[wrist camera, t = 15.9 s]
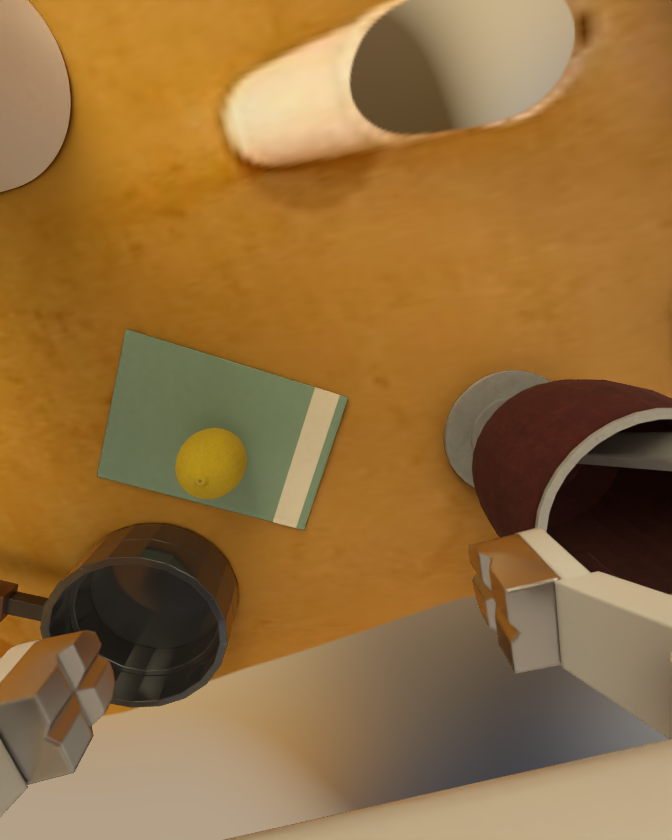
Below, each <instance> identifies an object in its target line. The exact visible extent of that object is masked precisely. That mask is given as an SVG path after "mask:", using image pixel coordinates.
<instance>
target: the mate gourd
mask: <svg viewBox="0 0 672 840" xmlns="http://www.w3.org/2000/svg"><path fill="white" fill-rule="evenodd" d="M444 445H445V452H446V455H447V457H448V460H449V463H450V464H451V466H452V467H453V469H454V471H455V472H456V473H457V474H458V475H459V476H460V477H461V478H462V479H463V480H464V481H465V482H466V483H468V484H469V485H471V486H472V487H474V488H475V489H476V492H477V495H478V498H479V501H480V504H481V506H482V508H483V510H484V512H485V514H486V516H487V518H488V520H489V521H490V523H491V525H492V526H493V528H494V530H495V531H496V533H497V534H498V536H499V537H500V538H501V537H505V536H509V535H513V534H515V533H519V532H522V531H526V530H530V529H534V528H540V529H543V530H544V531H545V532H546V533H547V534H548V535H550V536H551V537H552V538H553V539H554V540H555V541H556V542H557V543H558V544H560V545H561V546H562V547H563V548H564V549H565V550H566V551H567V552H568V553H569V554H571V555H572V556H573V557H574V558H575V559H576V560H577V561H578V562H579V563H581V564H582V565H583V566H584V567H585V568H586V569H587V570H588V571H589V572H590V573H592V572H597V571H599V572H602V573H605V574H608V575H611V576H614V577H617V578H620V579H623V580H626V581H629V582H633V583H636V584H639V585H642V586H645V587H648V588H651V589H654V590H657V591H660V592H663V593H666V594H669V595H672V399H671V398H669V397H667V396H664V395H662V394H660V393H657V392H655V391H652V390H648V389H644V388H639V387H635V386H630V385H626V384H621V383H616V382H612V381H607V380H559V381H552V382H550V381H549V380H547V379H546V378H544V377H541V376H539V375H537V374H534V373H530V372H526V371H521V370H506V371H501V372H496V373H493V374H490V375H488V376H485V377H483V378H481V379H480V380H478V381H477V382H475V383H473V384H472V385H471V386H469V387H468V388H467V389H466V390H465V391H464V392H463V393H462V394H461V395H460V397H459V398H458V399H457V401H456V402H455V403H454V405H453V407H452V409H451V411H450V413H449V415H448V418H447V421H446V425H445V431H444Z"/></svg>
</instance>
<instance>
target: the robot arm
mask: <svg viewBox="0 0 672 840" xmlns="http://www.w3.org/2000/svg"><path fill="white" fill-rule="evenodd" d="M70 107H71V98H70V86H69V79H68V75H67V70H66V67H65V63H64V60H63V57H62V54H61V52H60V49H59V47H58V44H57V42H56V40H55V38H54V36H53V34H52V33H51V31H50V29H49V27H48V26H47V24H46V23H45V21H44V20H43V18H42V17H41V15H40V14H39V13H38V11H37V10H36V9H35V8H34V6H33V5H32V4H31V3H30V2H29V0H0V192H3V191H7V190H10V189H13V188H17V187H19V186H22V185H24V184H26V183H28V182H30V181H31V180H33V179H35V178H36V177H37V176H39V175H40V174H41V173H42V172H43V171H44V170H46V168H47V167H48V166H49V165H50V164H51V163H52V161H53V160H54V159H55V157H56V156H57V154H58V152H59V150H60V148H61V146H62V144H63V142H64V139H65V136H66V133H67V129H68V125H69V119H70ZM469 558H470V563H471V564H472V566H473V568H474V569H475V571H476V572H477V573H476V575H475V576H474V578H473V585H474V591H475V595H476V599H477V602H478V605H479V608H480V610H481V613H482V615H483V617H484V619H485V621H486V623H487V625H488V626H489V627H490V628H492V629H493V630H495V631H497V635H498V642H499V646H500V647H501V649H502V651H503V653H504V654H505V656H506V658H507V659H508V661H509V663H510V665H511V666H512V668H513V670H514V672H515V673H520V672H526V671H531V670H536V669H541V668H546V667H552V666H557V665H561V666H562V668H564V669H565V670H567V671H568V672H570V673H571V674H573V675H574V676H576V677H577V678H579V679H580V680H582V681H583V682H585V683H586V684H588V685H589V686H590V687H592V688H594V689H595V690H597V691H598V692H599V693H601V694H602V695H604V696H606V697H607V698H609V699H610V700H612V701H613V702H615V703H616V704H617V705H619V706H620V707H622V708H623V709H625V710H626V711H628V712H630V713H631V714H632V715H634V716H635V717H637V718H638V719H640V720H641V721H643V722H644V723H646V724H647V725H649V726H650V727H652V728H653V729H655V730H656V731H658V732H659V733H661V734H662V735H664V736H665V737H667V738H668V739H669V740H664V741H660V742H656V743H651V744H647V745H642V746H638V747H633V748H629V749H625V750H620V751H615V752H611V753H606V754H602V755H597V756H593V757H589V758H584V759H580V760H575V761H571V762H567V763H562V764H558V765H553V766H549V767H544V768H540V769H535V770H531V771H526V772H522V773H518V774H513V775H509V776H504V777H500V778H495V779H491V780H487V781H482V782H478V783H473V784H469V785H464V786H460V787H456V788H451V789H447V790H442V791H438V792H433V793H429V794H425V795H420V796H416V797H411V798H407V799H402V800H398V801H393V802H389V803H385V804H380V805H376V806H371V807H367V808H362V809H358V810H354V811H349V812H345V813H340V814H336V815H331V816H327V817H323V818H318V819H314V820H310V821H305V822H301V823H296V824H292V825H287V826H283V827H278V828H274V829H270V830H266V831H261V832H256V833H252V834H248V835H243V836H238V837H234V838H230V839H225V840H672V595H669V594H666V593H663V592H660V591H657V590H654V589H651V588H648V587H645V586H642V585H639V584H636V583H633V582H629V581H626V580H623V579H620V578H617V577H614V576H611V575H608V574H605V573H602V572H599V571H597V572H592V573H590V572H589V571H588V570H587V569H586V568H585V567H584V566H583V565H582V564H581V563H579V562H578V561H577V560H576V559H575V558H574V557H573V556H572V555H571V554H569V553H568V552H567V551H566V550H565V549H564V548H563V547H562V546H561V545H560V544H558V543H557V542H556V541H555V540H554V539H553V538H552V537H551V536H550V535H548V534H547V533H546V532H545V531H544V530H543V529H540V528H534V529H530V530H526V531H522V532H519V533H515V534H513V535H509V536H505V537H501V538H496V539H492V540H488V541H484V542H480V543H475V544H471V545H469ZM101 645H102V644H101V642H100V640H99V638H98V636H97V634H96V632H93V631H90V630H84V631H79V632H74V633H69V634H64V635H59V636H54V637H49V638H44V639H42V640H35V641H31V642H26V643H22V644H19V645H16V646H14V647H12V648H10V649H9V650H8V651H7V652H6V653H5V655H4V656H3V657H2V658H1V659H0V817H1V816H2V815H3V814H4V813H5V811H7V810H8V809H9V807H10V806H11V805H12V804H13V803H14V802H15V801H16V800H17V799H18V798H19V797H20V795H21V794H22V793H23V792H24V791H25V790H26V789H27V788H28V786H27V785H29V784H33V783H36V782H40V781H44V780H48V779H52V778H56V777H59V776H63V775H67V774H71V773H74V772H75V769H76V768H77V766H78V764H79V762H80V760H81V758H82V757H83V755H84V753H85V751H86V749H87V747H88V745H89V743H90V741H91V739H92V737H93V731H92V725H93V724H94V723H95V722H96V721H97V720H98V719H100V718H101V717H102V716H103V715H104V714H105V712H106V710H107V708H108V706H109V704H110V702H111V700H112V697H113V691H114V685H115V679H114V672H113V669H112V667H111V664H110V662H109V661H108V660H106V659H105V658H103V657H102V656H100V655H98V654H99V651H100V648H101Z"/></svg>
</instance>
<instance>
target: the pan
mask: <svg viewBox="0 0 672 840" xmlns="http://www.w3.org/2000/svg"><path fill="white" fill-rule="evenodd" d="M237 605H238V591H237V581H236V578H235V576H234V574H233V572H232V569H231V567H230V565H229V563H228V561H227V559H226V558H225V557H224V556H223V555H222V554H221V553H220V552H219V551H218V550H217V549H216V548H215V547H214V546H213V545H212V544H211V543H210V542H209V541H207V540H205V539H203V538H202V537H200V536H198V535H196V534H195V533H193V532H191V531H189V530H186V529H182V528H178V527H174V526H170V525H166V524H138V525H134V526H131V527H128V528H124V529H121V530H118V531H115V532H112V533H111V534H109V535H108V536H107V537H105V538H104V539H103V540H101V541H100V542H99V543H97V544H96V545H94V546H93V547H92V548H91V549H90V550H89V551H88V552H87V553H86V554H85V556H84V557H83V558H82V559H81V560H80V561H79V562H78V563H77V564H76V565H75V566H74V567H73V568H72V569H71V570H70V571H69V572H68V574H67V575H66V576H65V577H64V578H63V579H62V580H61V581H60V582H59V583H58V584H57V586H56V587H55V589H54V591H53V592H52V594H51V595H50V597H49V598H48V600H47V601H46V603H45V605H44V610H43V615H42V621H41V627H40V628H41V629H40V630H41V634H42V639H44V638H49V637H54V636H59V635H64V634H69V633H74V632H79V631H84V630H90V631H93V632H96V634H97V636H98V638H99V640H100V642H101V644H102V645H101V648H100V651H99V654H98V655H100V656H102V657H103V658H105V659H106V660H108V661H109V662H110V664H111V667H112V669H113V672H114V679H115V685H114V691H113V697H112V700H111V702H110V704H115V705H121V706H126V707H132V708H133V707H150V706H162V705H165V704H168V703H172V702H175V701H178V700H181V699H184V698H186V697H187V696H189V695H191V694H192V693H194V692H195V691H197V690H198V689H200V688H201V687H203V686H204V685H206V684H207V683H208V681H209V680H210V679H211V678H212V676H213V675H214V674H215V672H216V671H217V670H218V669H219V667H220V666H221V663H222V660H223V657H224V654H225V651H226V647H227V644H228V640H229V636H230V632H231V628H232V625H233V621H234V617H235V613H236V609H237Z"/></svg>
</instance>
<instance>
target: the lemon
mask: <svg viewBox="0 0 672 840" xmlns="http://www.w3.org/2000/svg"><path fill="white" fill-rule="evenodd" d="M246 467H247V454H246V450H245V447H244V445H243V443H242V442H241V440H240V439H239V438H238V437H237V436H236V435H234V434H233V433H232V432H230V431H227V430H225V429H220V428H208V429H204V430H201V431H199V432H197V433H195V434H194V435H192V436H191V437H189V438H188V439H187V440H186V441H185V443H184V444H183V445H182V446H181V448H180V450H179V453H178V455H177V458H176V464H175V471H176V477H177V480H178V482H179V484H180V485H181V487H182V488H183V489H184V490H185V491H186V492H187V493H189V494H190V495H192V496H194V497H196V498H200V499H215V498H219V497H221V496H223V495H225V494H227V493H229V492H230V491H232V490H233V489H234V488H235V487H236V486H237V485H238V484H239V482H240V481H241V479H242V478H243V476H244V473H245V470H246Z"/></svg>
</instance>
